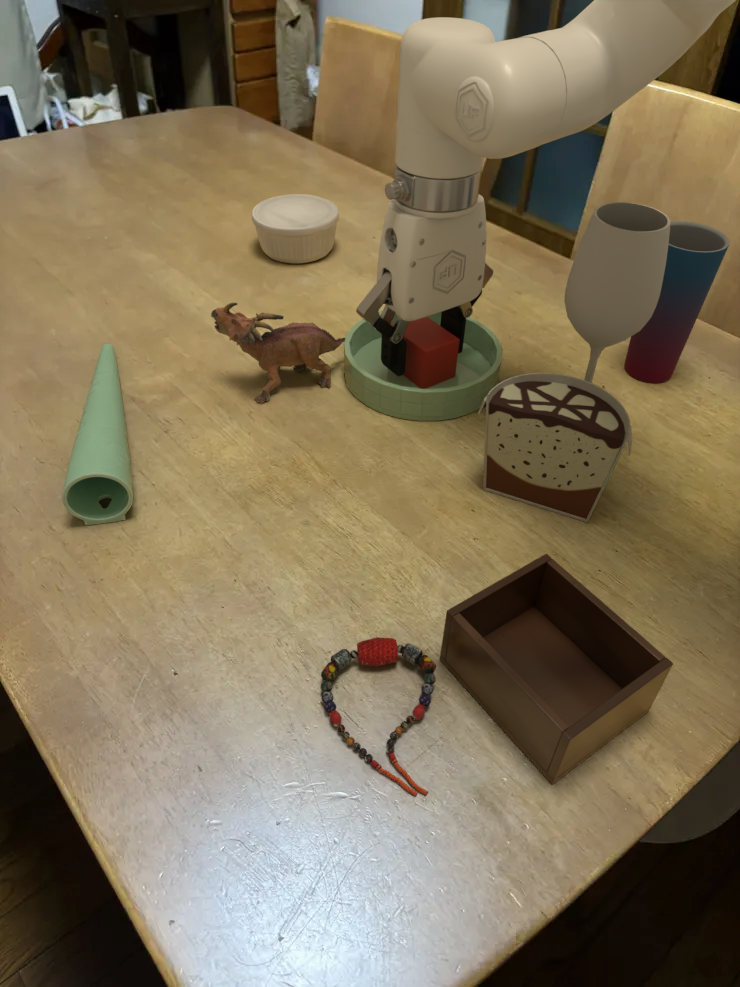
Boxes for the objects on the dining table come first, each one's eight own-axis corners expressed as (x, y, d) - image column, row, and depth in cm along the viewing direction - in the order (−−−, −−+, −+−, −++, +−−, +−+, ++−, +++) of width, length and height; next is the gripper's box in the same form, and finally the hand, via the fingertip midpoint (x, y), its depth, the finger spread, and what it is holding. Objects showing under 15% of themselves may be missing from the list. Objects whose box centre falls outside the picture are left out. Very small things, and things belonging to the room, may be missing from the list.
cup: (613, 380, 79) (653, 244, 69) (618, 348, 84) (656, 216, 74) (679, 393, 78) (730, 257, 68) (681, 359, 83) (729, 227, 73)
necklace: (428, 641, 54) (430, 627, 53) (458, 796, 47) (461, 784, 45) (317, 652, 54) (316, 637, 52) (330, 811, 46) (329, 799, 45)
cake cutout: (619, 484, 67) (650, 392, 61) (605, 528, 63) (636, 435, 57) (488, 445, 71) (504, 354, 64) (467, 484, 67) (481, 392, 60)
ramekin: (244, 263, 97) (240, 223, 94) (268, 227, 105) (265, 189, 102) (328, 272, 96) (328, 232, 92) (346, 235, 104) (346, 197, 100)
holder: (649, 711, 51) (674, 663, 47) (551, 785, 47) (570, 739, 43) (533, 602, 57) (546, 552, 53) (439, 659, 53) (446, 610, 50)
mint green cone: (125, 303, 78) (126, 469, 59) (135, 349, 82) (139, 518, 63) (71, 308, 77) (54, 478, 58) (83, 354, 81) (71, 528, 62)
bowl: (501, 343, 84) (505, 315, 82) (493, 430, 73) (498, 401, 70) (359, 327, 86) (360, 299, 84) (329, 410, 75) (329, 380, 72)
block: (455, 376, 78) (460, 339, 75) (422, 390, 76) (425, 352, 73) (420, 350, 82) (423, 313, 79) (387, 362, 80) (389, 325, 77)
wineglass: (548, 396, 77) (595, 191, 63) (622, 418, 75) (689, 209, 60) (526, 437, 72) (572, 224, 58) (605, 461, 70) (673, 245, 55)
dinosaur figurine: (232, 410, 74) (221, 327, 68) (219, 377, 78) (208, 297, 72) (362, 384, 78) (363, 304, 72) (343, 355, 82) (343, 276, 76)
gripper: (381, 222, 60) (374, 403, 72) (538, 179, 67) (508, 350, 80) (330, 191, 64) (332, 366, 77) (482, 154, 72) (462, 319, 84)
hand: (422, 357), depth 78 cm, fingers open, 6 cm apart
